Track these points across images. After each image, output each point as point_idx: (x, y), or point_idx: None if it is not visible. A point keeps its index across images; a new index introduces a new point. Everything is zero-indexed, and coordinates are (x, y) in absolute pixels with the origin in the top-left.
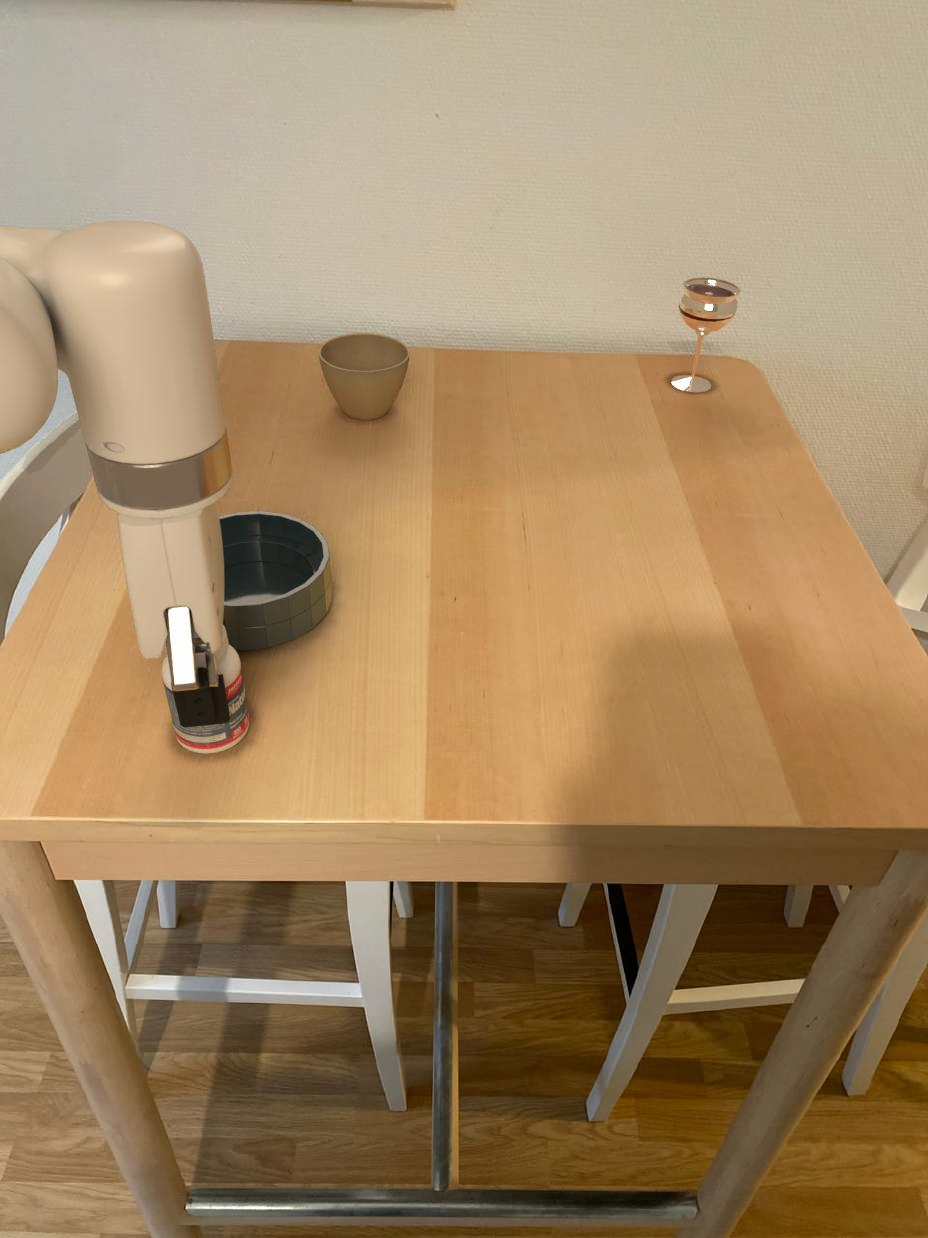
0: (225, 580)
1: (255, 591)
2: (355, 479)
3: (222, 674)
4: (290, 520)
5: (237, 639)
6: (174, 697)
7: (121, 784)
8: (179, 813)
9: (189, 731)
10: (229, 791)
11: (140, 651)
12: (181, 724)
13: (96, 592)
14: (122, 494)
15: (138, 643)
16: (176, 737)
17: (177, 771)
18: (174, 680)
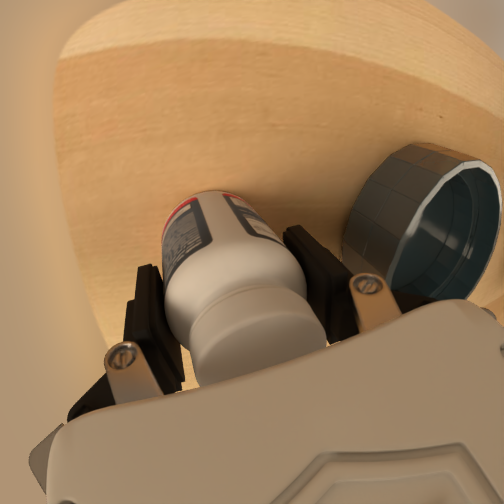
0: (439, 196)
1: (420, 230)
2: (489, 267)
3: (180, 390)
4: (476, 280)
5: (352, 245)
6: (134, 307)
7: (101, 150)
8: (73, 239)
9: (162, 248)
10: (115, 282)
11: (52, 450)
12: (139, 268)
13: (437, 56)
14: None
15: (50, 478)
16: (180, 204)
17: (132, 214)
18: (33, 472)
